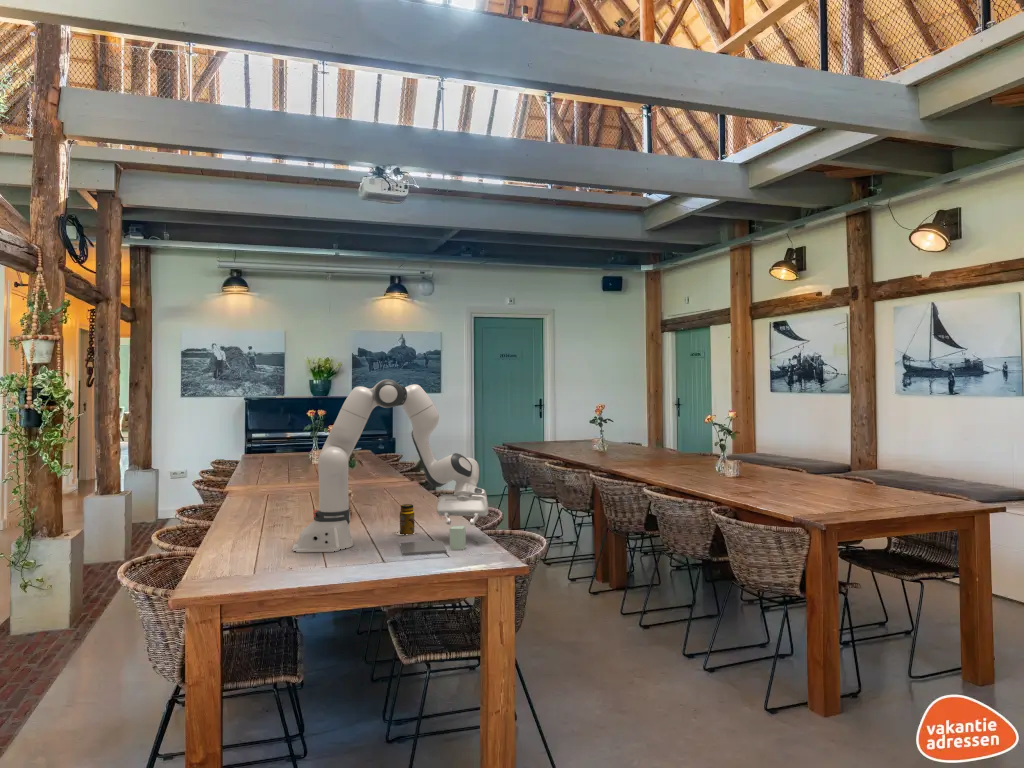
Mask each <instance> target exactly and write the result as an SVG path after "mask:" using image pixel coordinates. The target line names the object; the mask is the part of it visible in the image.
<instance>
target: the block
mask: <svg viewBox="0 0 1024 768" xmlns="http://www.w3.org/2000/svg"><path fill="white" fill-rule="evenodd" d="M466 536H467V535H466V525H452V526H451V527H449V550H450V549H464V550H465V549H466V547H465V546H467V545H466V544H467V541H466V540H467V539H466Z"/></svg>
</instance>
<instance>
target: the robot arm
mask: <svg viewBox="0 0 1024 768" xmlns="http://www.w3.org/2000/svg"><path fill="white" fill-rule="evenodd" d="M376 407H382V408H385V409H390V408H393V407H394V408H396V407H401V408H402V409H403V410H404V411H405V413H406V415H407V417H408V419H409V420H410V422H411V426H412V427H411V428H412V430H411V439H412V441H413V445H414V446H415V449H416V452H417V455H418V457H419V460H420V462H421V465H422V466H423V470H424V474H425V479H426V480H427V482H428V483H429V484H430V485H431V486H433V487H436V488H440V487H443V486H445V485H446V484H448V483H450V482H453V481H455V487H454V491H453V493H451V494H449V493H448V494H447V493H442V494H441V495H440V496H439V497H438V499H437V501H438V503H437V504H436V513H437V515H439V516H440V517H442V516H443V517H445V521H446V522H445V524H446V526H447V525H451V523H452V520H451V518H450V517H473V518H470V521H469V524H470V526H475V524H476V522H477V520H478V519H479V517H487V515H488V514H489V502H488V496H487V492H486V490H485V489H483V488H481V487H478V486H477V485H478V483H479V477H480V466H479V463H478V462H477V460H476V459H475V458H472V457H465V456H464V455H462V454H461V453H457V452H455V453H452V454H450V455H447V456H445V457H444V458H441V459H440V460H439V459H436V458H435V455H434V453H433V450H432V449H431V446H430V443H429V442H430V441H429V439H430V438H429V437H430V435H432V433H433V431H434V430H435V429H436V428H437V425H438V424H439V419H440V415H439V412H438V410H437V407H436V406H435V404H434V402H433V400H432V399H431V398H430V396H429V395H428V394H427V392H426V391H425V390H424V389H423V388H422V387H421V385H419V384H416V383H415V384H409V385H407V386H405V387H404V386H403V385H401V384H399V383H398V382H396V381H395V380H392V379H382V380H380V381H379V382H377V383H376V384H375V385H374V386H372V387H370V388H368V387H365V386H362V385H361V386H360V385H359V386H355V387H354V388H353V389H351V391H350V392H349V394H348V396H347V397H346V399H345V400H344V402H343V404H342V406H341V408H340V410H339V412H338V415H337V417H336V419H335V420H334V423H333V425H332V427H331V429H330V432H329V434H328V436H327V437H326V440H325V442H324V444H323V446H322V449H321V450H320V453H319V456H318V459H317V460H318V462H317V464H318V465H317V466H318V470H317V471H318V508H319V509H315V510H313V512H312V515H313V521H311V522H310V523H309V524H308V525H307V526H305V528H303V529H302V530H301V531H300V533H299V536H298V541H297V542H296V543H294V544H293V546H292V551H293V552H294V551H296V552H295V553H334V551H335V552H338V551H341V550H345V548H346V549H348V548H351V547H353V546H354V542H353V539H352V533H351V527H350V523H351V512H350V511H351V510H350V508H349V501H350V500H349V459H350V458H351V455H352V453H353V451H354V449H355V447H356V445H357V443H358V441H359V440H360V438H361V435H362V433H363V430H364V429H365V427H366V424H367V423H368V420H369V418H370V416H371V413H372V411H373V410H374V409H375V408H376ZM340 549H341V550H340Z"/></svg>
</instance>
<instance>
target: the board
mask: <svg viewBox="0 0 1024 768" xmlns="http://www.w3.org/2000/svg"><path fill="white" fill-rule="evenodd" d="M400 545H401V546H400V549H401V553H402V554H403V555H405V556H416V555H415V554H421V555H432V554H431V553H437V554H447V553H448V552H447V548H446V547H445V544H444V542H443V541H442V540H432V541H412V542H400ZM403 555H402V556H403Z"/></svg>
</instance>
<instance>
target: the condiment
mask: <svg viewBox="0 0 1024 768" xmlns="http://www.w3.org/2000/svg"><path fill="white" fill-rule="evenodd" d="M415 527H416V526H415V510H414V505H413V504H412V503H411V504H410V503H403V504H401V505H400V511H399V531H398V532H400V534H404V535H406V534H413V533H414V532H415ZM398 532H397V533H398ZM393 533H396V532H393ZM406 536H407V535H406Z"/></svg>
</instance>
